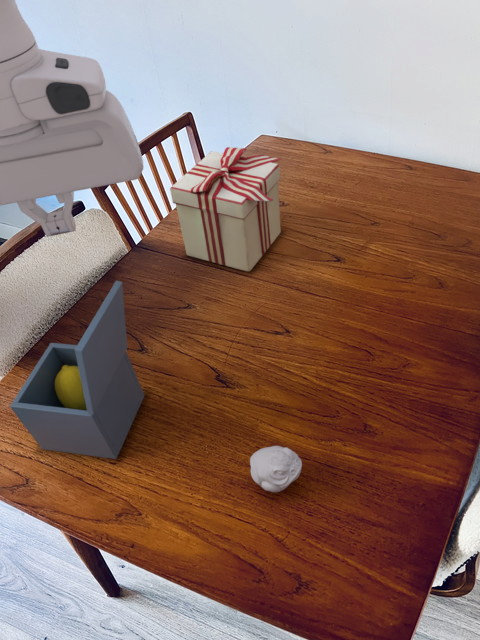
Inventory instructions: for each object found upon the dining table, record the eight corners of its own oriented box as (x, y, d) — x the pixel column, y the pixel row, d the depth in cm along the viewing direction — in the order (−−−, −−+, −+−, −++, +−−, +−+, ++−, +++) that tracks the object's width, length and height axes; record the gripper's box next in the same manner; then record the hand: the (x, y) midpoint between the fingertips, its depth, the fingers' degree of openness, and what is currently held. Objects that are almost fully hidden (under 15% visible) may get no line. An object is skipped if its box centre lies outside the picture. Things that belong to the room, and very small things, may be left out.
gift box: (269, 277, 97) (261, 193, 84) (182, 261, 102) (162, 179, 89) (299, 227, 107) (296, 145, 94) (219, 214, 112) (205, 135, 99)
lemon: (112, 400, 79) (87, 353, 77) (102, 413, 74) (74, 364, 71) (79, 413, 79) (53, 367, 77) (66, 427, 74) (38, 378, 72)
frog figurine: (292, 511, 66) (290, 484, 61) (244, 492, 68) (237, 465, 63) (310, 472, 70) (309, 443, 64) (263, 455, 72) (258, 427, 67)
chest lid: (74, 349, 55) (81, 351, 55) (116, 280, 63) (122, 281, 63) (87, 413, 65) (93, 414, 65) (122, 346, 72) (127, 348, 72)
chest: (41, 449, 75) (9, 406, 67) (76, 387, 82) (50, 342, 75) (116, 459, 73) (91, 416, 65) (144, 395, 80) (125, 349, 73)
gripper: (-143, 127, 41) (-46, 269, 51) (117, 82, 43) (159, 228, 53) (-122, 97, 45) (-36, 234, 55) (115, 58, 47) (155, 197, 57)
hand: (61, 231), depth 54 cm, fingers closed
